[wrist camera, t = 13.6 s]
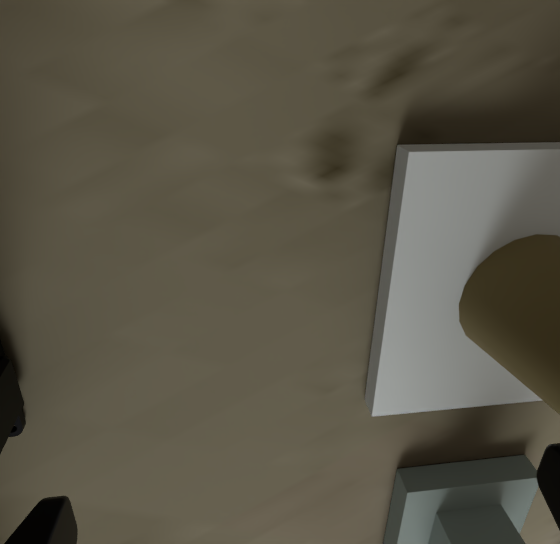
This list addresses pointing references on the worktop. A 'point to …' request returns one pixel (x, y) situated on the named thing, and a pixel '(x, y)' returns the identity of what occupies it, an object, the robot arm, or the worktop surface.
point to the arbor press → (454, 326)
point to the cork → (519, 312)
